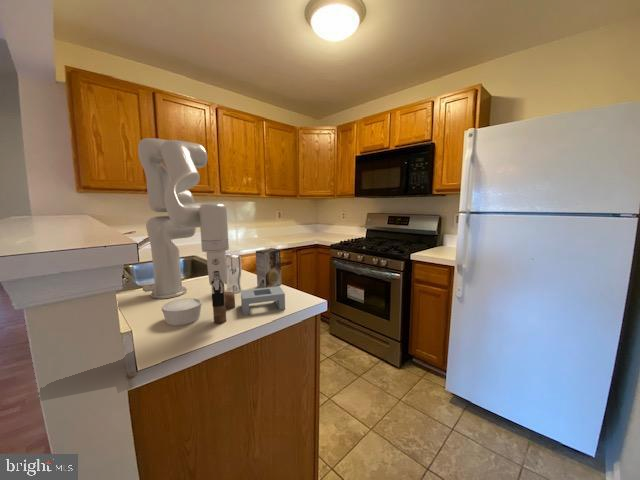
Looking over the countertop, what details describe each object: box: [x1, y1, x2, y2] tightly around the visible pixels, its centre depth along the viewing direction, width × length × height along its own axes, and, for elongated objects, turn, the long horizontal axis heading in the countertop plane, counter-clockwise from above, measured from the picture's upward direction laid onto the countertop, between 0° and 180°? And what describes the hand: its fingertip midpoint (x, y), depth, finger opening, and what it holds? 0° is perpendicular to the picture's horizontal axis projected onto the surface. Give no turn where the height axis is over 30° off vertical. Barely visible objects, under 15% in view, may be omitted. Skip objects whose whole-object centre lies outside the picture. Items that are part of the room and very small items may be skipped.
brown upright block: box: [225, 292, 236, 310], centre depth 94 cm, size 4×4×5 cm
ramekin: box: [161, 297, 203, 327], centre depth 85 cm, size 11×11×5 cm
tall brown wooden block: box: [212, 283, 227, 325], centre depth 82 cm, size 4×4×15 cm
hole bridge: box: [240, 285, 286, 316], centre depth 94 cm, size 14×9×6 cm, turn 109°
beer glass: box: [225, 253, 243, 294], centre depth 111 cm, size 7×7×15 cm
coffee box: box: [255, 247, 283, 288], centre depth 118 cm, size 9×6×16 cm
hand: (218, 300), depth 82 cm, fingers open, 9 cm apart
